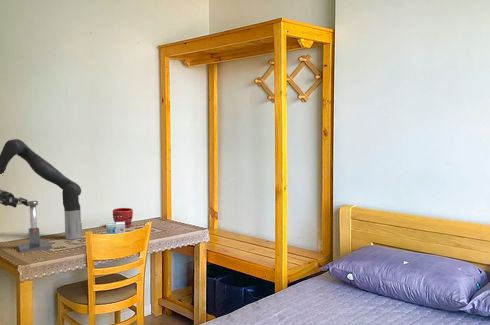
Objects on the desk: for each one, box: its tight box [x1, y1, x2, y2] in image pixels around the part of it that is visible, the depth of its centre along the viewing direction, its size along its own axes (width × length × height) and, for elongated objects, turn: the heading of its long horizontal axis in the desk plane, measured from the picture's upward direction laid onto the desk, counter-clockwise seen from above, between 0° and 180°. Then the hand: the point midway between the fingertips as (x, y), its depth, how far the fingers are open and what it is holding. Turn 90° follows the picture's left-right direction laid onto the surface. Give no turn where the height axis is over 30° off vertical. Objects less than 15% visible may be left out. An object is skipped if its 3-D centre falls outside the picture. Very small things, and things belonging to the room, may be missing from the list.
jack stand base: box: [17, 227, 53, 253], centre depth 259 cm, size 16×16×10 cm
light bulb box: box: [105, 221, 126, 234], centre depth 272 cm, size 11×7×11 cm, turn 105°
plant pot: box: [112, 207, 134, 229], centre depth 312 cm, size 13×13×12 cm
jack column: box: [27, 200, 39, 230], centre depth 258 cm, size 5×5×24 cm
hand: (22, 205), depth 263 cm, fingers open, 8 cm apart
